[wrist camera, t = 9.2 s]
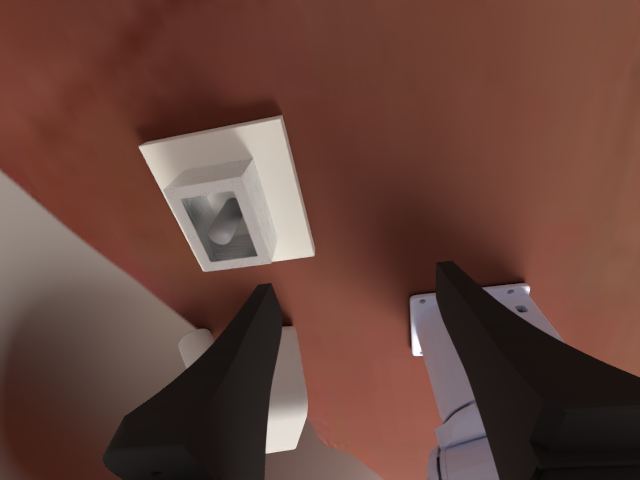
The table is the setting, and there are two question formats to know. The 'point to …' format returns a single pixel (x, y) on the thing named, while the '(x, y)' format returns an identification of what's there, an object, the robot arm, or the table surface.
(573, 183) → the table surface
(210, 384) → the robot arm
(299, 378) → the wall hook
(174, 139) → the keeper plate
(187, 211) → the hollow square tube
